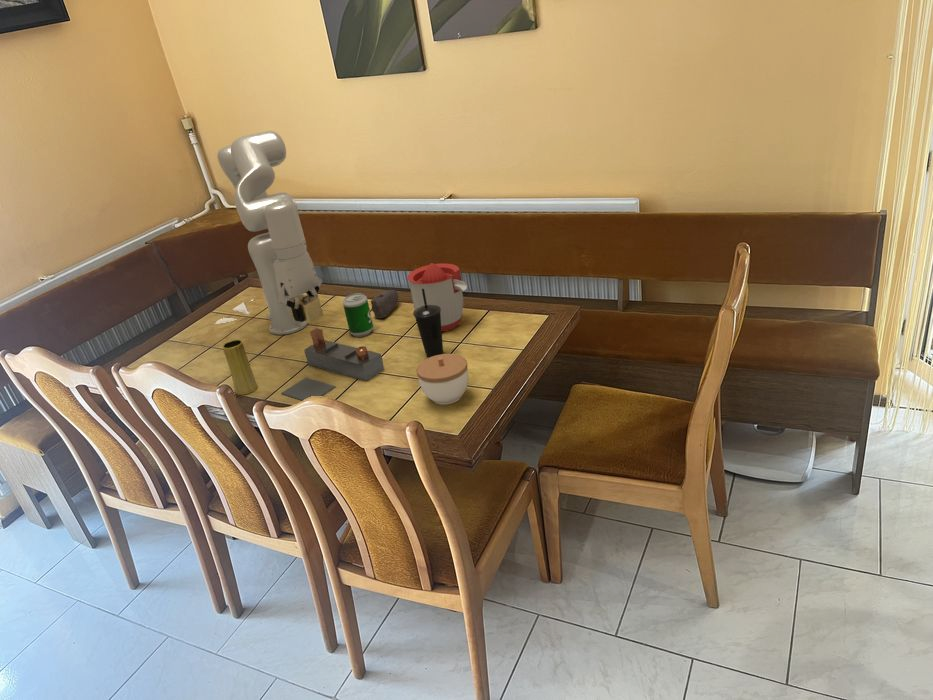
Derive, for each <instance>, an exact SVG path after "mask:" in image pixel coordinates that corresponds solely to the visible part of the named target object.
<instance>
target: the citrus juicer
mask: <svg viewBox="0 0 933 700" xmlns="http://www.w3.org/2000/svg"><path fill="white" fill-rule="evenodd" d="M407 281H408V282H409V283H408V284H409V288H410V293H411V298H412V299H411V300H412V304H413V308H414V310H416V309H417V308H419V307H421V306H424V305H425V304H424V299H423V294H422V289H424V291H425V296H426V302H427V305H436V306H439V307H440V308H441V312H440V316H441V329H442V332H448V331H451V330H452V329H454V328H457V327H458V326H459V325H460V324H461V323H462V318H463V311H464V295H463V292H465V291H466V290H467V289H468V285H467V283H466V282H465V281H463V280H462V277H461V269H460V267H459V266H458V265H455V264H453V263H433V262H432V263H429V264H427V265H423V266H420V267H418V268H415V269H413V270H412V271H411V272H409V273H408V274H407Z"/></svg>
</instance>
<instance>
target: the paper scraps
mask: <svg viewBox="0 0 933 700" xmlns="http://www.w3.org/2000/svg"><path fill="white" fill-rule="evenodd" d="M254 299H255V298H252V299H251V300H250V301H253V300H254ZM232 310H234V311H239V312H243V313H244V314H249V313H250V312H248V310H247V308H246V303H245V301H242V302H241V303H240V304H238V305H237V306H235V307H233V308H232ZM222 318H223V319H222ZM222 318H219V319H218V320H217V321H215V322H216V323H215V322H214V323H215V324H220V323H226V322H231V321H234V320H237V319H234V318H224V317H222Z"/></svg>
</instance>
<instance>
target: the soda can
mask: <svg viewBox="0 0 933 700" xmlns="http://www.w3.org/2000/svg"><path fill="white" fill-rule="evenodd" d="M342 307H343V309H344V314H345V318H346V321H347V328H348V332H349V333H350V334H351V335H353V336H354V337H357V338H358V337H359V338H361V337H366V336H369V335H370V334H371V333H372V331H373V330H374V323H373V319H372V314H371V310H370V306H369V301H368V297H367V296H366V295H364V294H363V293H361V292H359V293H357V292H356V293H352V294H348V295H347V296H345V297H344V299H343V300H342Z"/></svg>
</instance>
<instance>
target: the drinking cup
mask: <svg viewBox="0 0 933 700" xmlns="http://www.w3.org/2000/svg"><path fill="white" fill-rule="evenodd" d="M422 294H423V299H424V304H425V305H424V306H421V307H419V308H417V309H416V310H415V309H414V310H413V313H412V315H413V316H414V318H415V322H416V326H417V328H418V333H419V336H420V339H421V342H422V346H423V348H424V352H425V353H424V354H425V356H426V359H427V358H430V357H432V356H436V355H441V354H444V346H443V331H442V329H441V316H440V312H441V308H440V307H439V306H436V305H427V302H426V296H425V291H424V289H422Z"/></svg>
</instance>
